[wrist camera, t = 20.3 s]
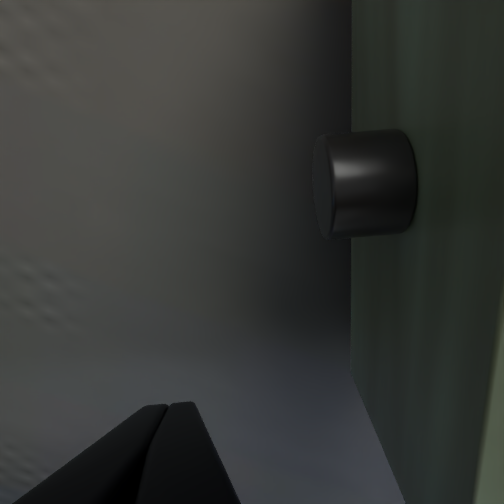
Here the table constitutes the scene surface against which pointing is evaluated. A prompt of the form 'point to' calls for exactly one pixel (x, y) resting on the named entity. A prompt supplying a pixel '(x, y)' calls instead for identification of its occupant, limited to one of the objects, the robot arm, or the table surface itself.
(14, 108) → the table surface
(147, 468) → the robot arm
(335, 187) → the drawer
